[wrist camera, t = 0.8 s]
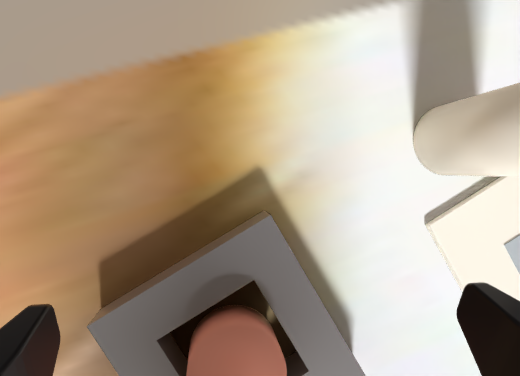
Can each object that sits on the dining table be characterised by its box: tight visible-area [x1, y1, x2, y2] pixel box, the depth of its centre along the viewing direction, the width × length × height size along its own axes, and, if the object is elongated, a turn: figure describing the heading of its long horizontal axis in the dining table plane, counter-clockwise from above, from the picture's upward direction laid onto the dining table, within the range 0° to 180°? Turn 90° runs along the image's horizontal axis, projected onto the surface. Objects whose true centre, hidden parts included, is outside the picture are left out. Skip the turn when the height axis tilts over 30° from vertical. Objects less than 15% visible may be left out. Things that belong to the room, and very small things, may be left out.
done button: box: [186, 305, 287, 376], centre depth 20 cm, size 4×4×3 cm
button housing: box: [87, 211, 365, 376], centre depth 21 cm, size 10×10×2 cm
